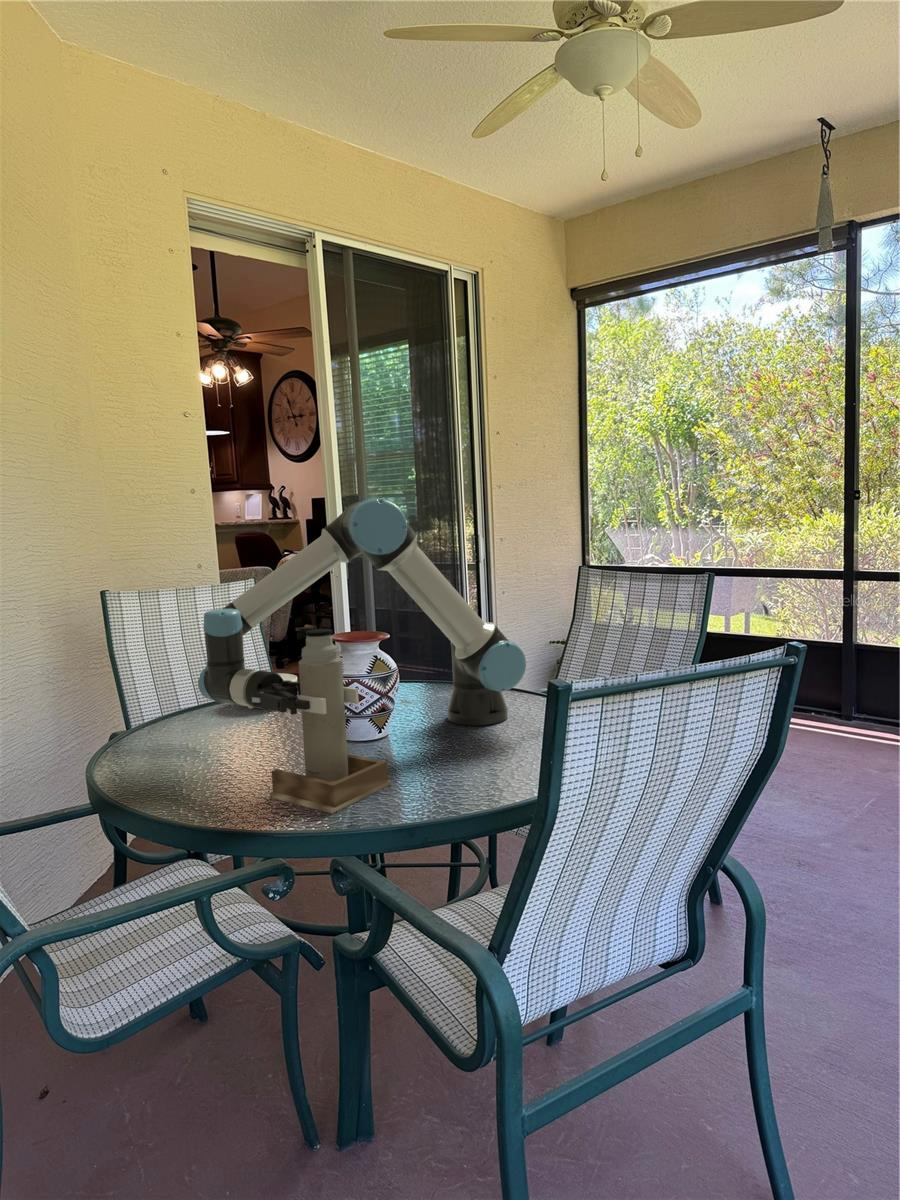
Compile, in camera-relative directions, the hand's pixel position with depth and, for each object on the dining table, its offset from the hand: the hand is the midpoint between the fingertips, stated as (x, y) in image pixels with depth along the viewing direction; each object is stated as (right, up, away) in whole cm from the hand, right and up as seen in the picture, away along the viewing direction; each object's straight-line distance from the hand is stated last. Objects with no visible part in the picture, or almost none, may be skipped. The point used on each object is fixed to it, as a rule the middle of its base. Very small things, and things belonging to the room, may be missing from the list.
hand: (341, 701), depth 137 cm
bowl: (-32, -11, +75) cm, 82 cm away
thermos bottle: (-3, -15, +4) cm, 16 cm away
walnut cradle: (-3, -18, +4) cm, 18 cm away
